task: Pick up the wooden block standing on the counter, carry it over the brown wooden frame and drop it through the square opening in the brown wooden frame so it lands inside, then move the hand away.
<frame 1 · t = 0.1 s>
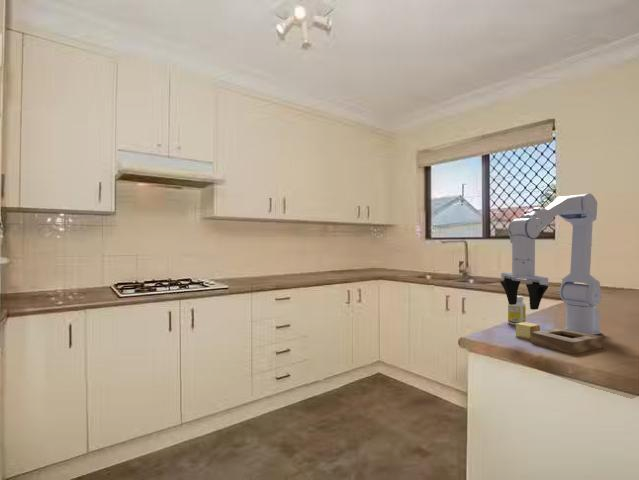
hand: (523, 306, 103), 10 cm above the worktop, tool pointing down, fingers open, 7 cm apart
wooden block: (527, 337, 108), on the worktop
supplement bottle: (516, 324, 125), on the worktop
brown wooden frame: (566, 345, 100), on the worktop
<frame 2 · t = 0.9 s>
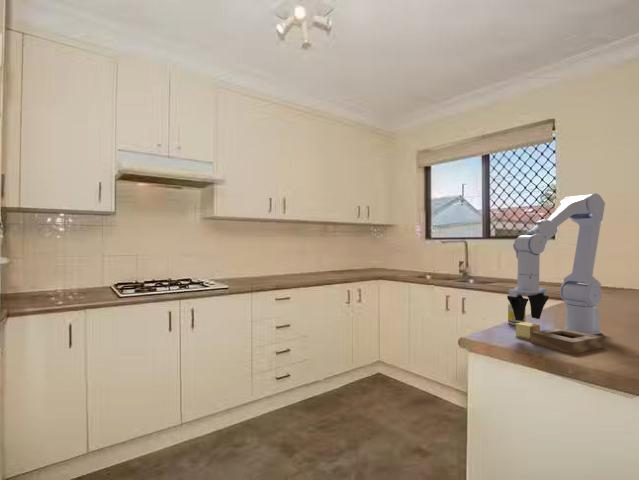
hand: (527, 319, 108), 5 cm above the worktop, tool pointing down, fingers open, 7 cm apart
nothing on the worktop moved.
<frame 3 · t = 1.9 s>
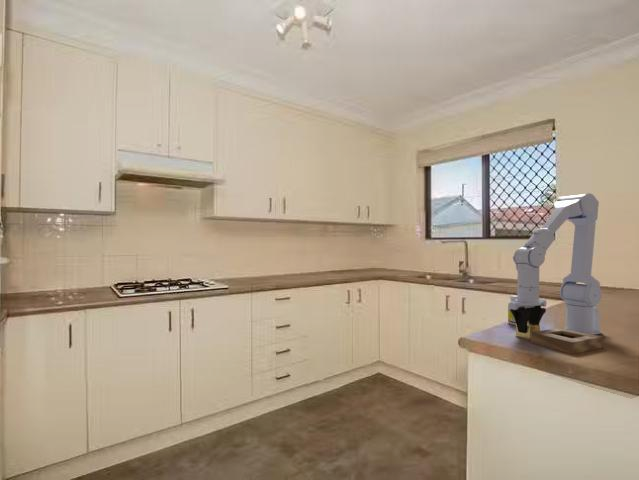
hand: (527, 331, 108), 2 cm above the worktop, tool pointing down, fingers closed on wooden block, 4 cm apart
wooden block: (527, 337, 108), on the worktop, touching gripper
everything else where it was.
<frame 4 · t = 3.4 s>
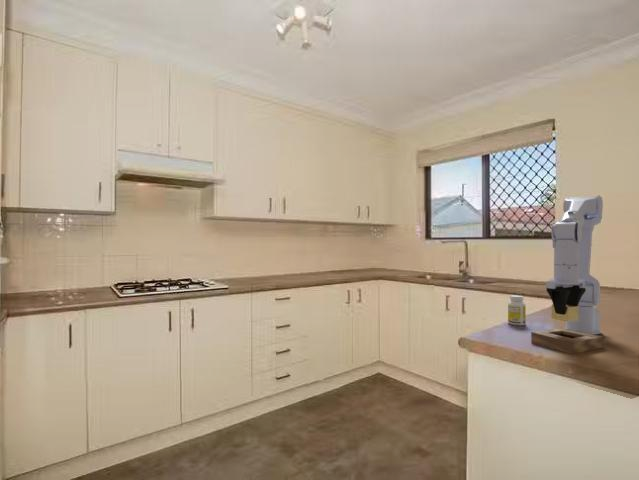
hand: (565, 313, 100), 9 cm above the worktop, tool pointing down, fingers closed on wooden block, 4 cm apart
wooden block: (564, 319, 100), point 7 cm above the worktop, touching gripper
everything else where it was.
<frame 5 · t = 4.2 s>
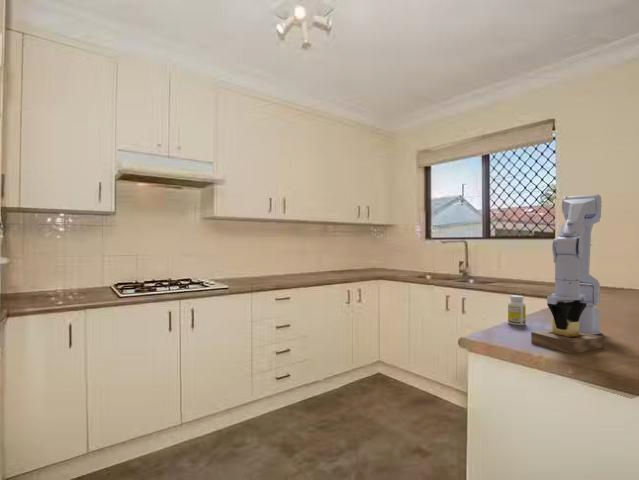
hand: (566, 328, 100), 5 cm above the worktop, tool pointing down, fingers closed on wooden block, 4 cm apart
wooden block: (565, 334, 100), point 3 cm above the worktop, touching gripper
everything else where it was.
when the fingers open (4 cm above the worktop, at t = 4.8 s): wooden block drops 2 cm, resting in brown wooden frame.
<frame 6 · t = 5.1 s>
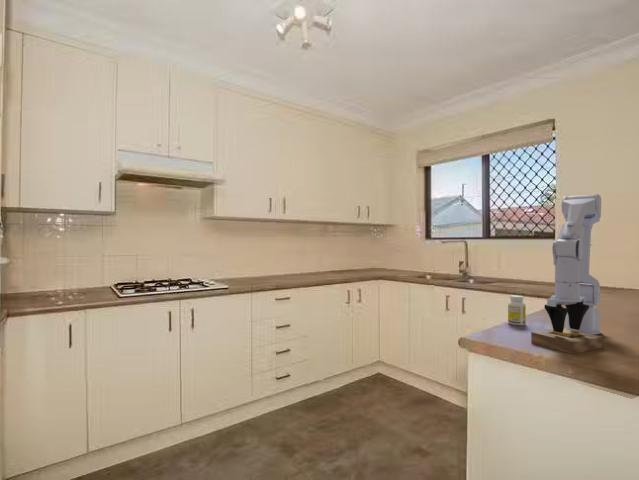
hand: (566, 330, 100), 4 cm above the worktop, tool pointing down, fingers open, 7 cm apart
wooden block: (566, 345, 100), resting in brown wooden frame
everything else where it was.
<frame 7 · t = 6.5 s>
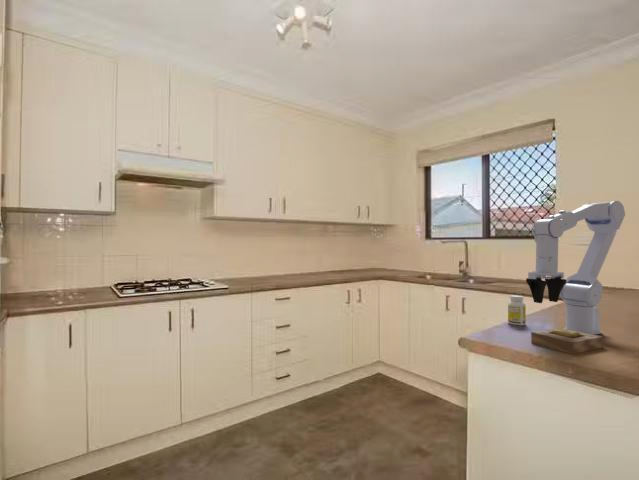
hand: (545, 302, 109), 10 cm above the worktop, tool pointing down, fingers open, 7 cm apart
nothing on the worktop moved.
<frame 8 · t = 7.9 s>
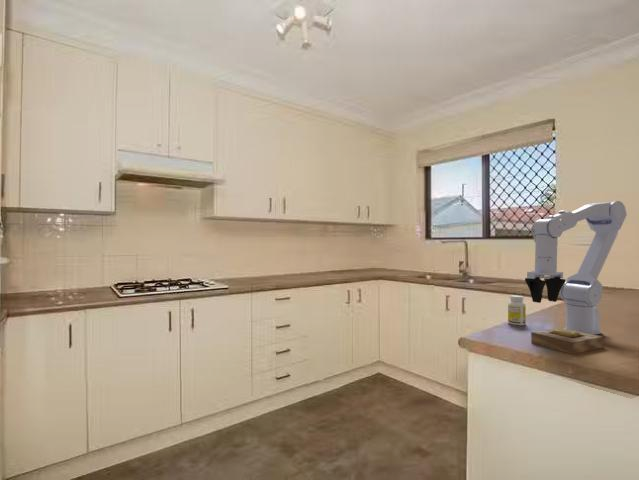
hand: (544, 301, 110), 10 cm above the worktop, tool pointing down, fingers open, 7 cm apart
nothing on the worktop moved.
at the end: wooden block inside the target area on the brown wooden frame (0.3 cm from its centre), point 0.0 cm above the brown wooden frame's base; the gripper is holding nothing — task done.
